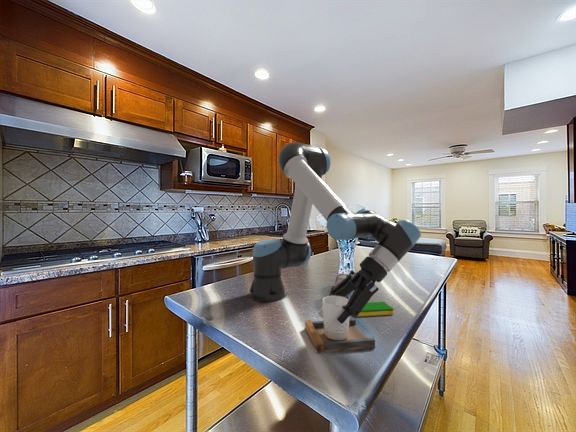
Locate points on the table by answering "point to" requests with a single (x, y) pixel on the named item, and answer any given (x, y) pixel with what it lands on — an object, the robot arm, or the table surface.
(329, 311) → the white cup
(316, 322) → the wooden tray
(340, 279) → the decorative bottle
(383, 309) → the dish sponge
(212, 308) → the table surface
